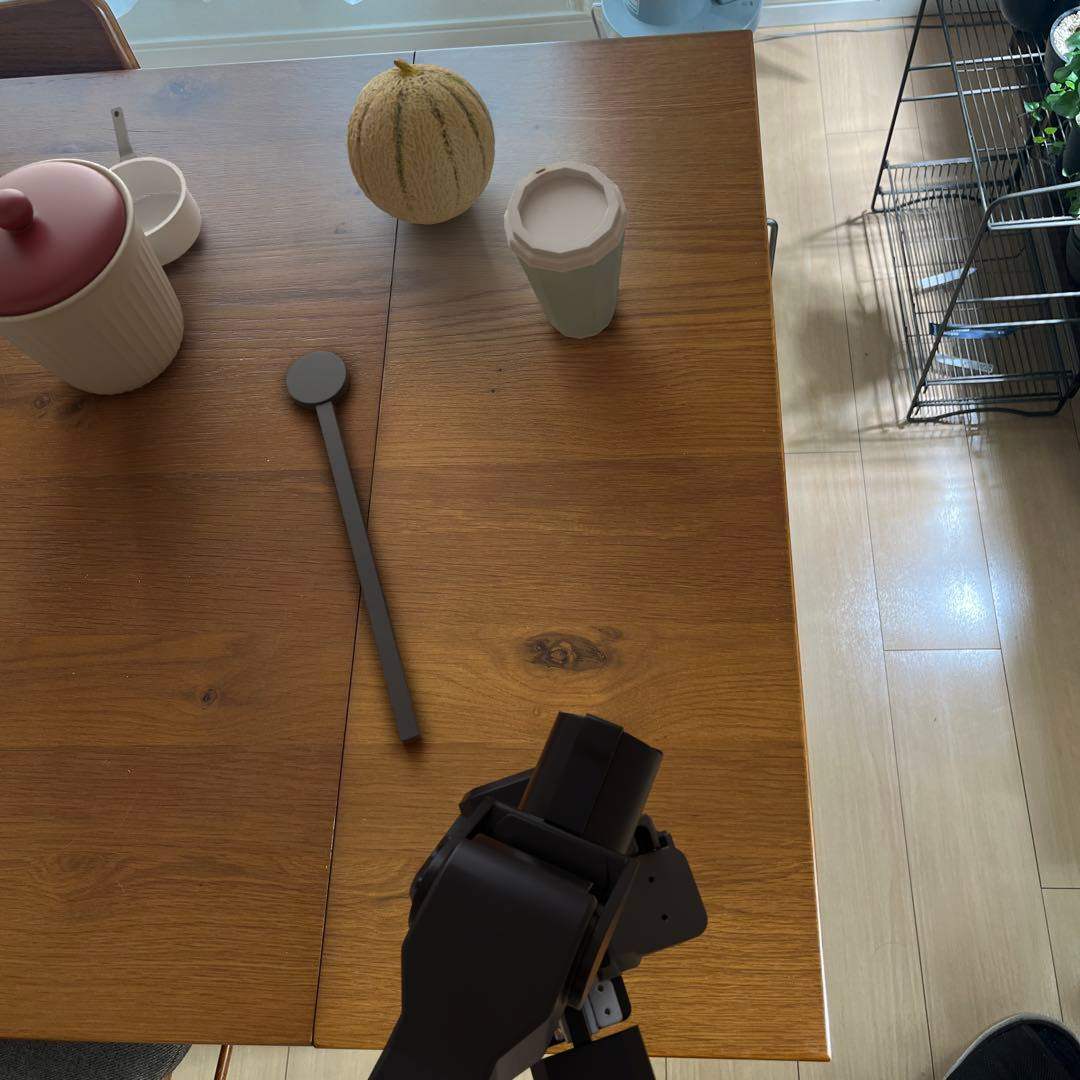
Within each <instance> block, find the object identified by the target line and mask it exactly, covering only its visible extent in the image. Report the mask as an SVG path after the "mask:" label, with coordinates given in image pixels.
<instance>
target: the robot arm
mask: <svg viewBox="0 0 1080 1080" xmlns="http://www.w3.org/2000/svg"><path fill="white" fill-rule="evenodd" d="M663 759H664V752H663V751H662V750H660V749H659V748H656V747H653V746H651V745H649V744H647V743H646V742H645V741H643V740H641V739H639V738H637V737H635V736H633V735H632V734H630V733H628V732H626V731H625V729H624V726H622V725H619V724H617V723H614V722H612V721H610V720H607V719H604V718H601V717H599V716H597V715H594V714H593V713H592V714H591V713H589V712H586V713H585V715H581V714H576V713H573V712H572V713H570V712H564V711H561V710H558V712H557V715H556V717H555V720H554V722H553V724H552V727H551V729H550V731H549V733H548V736H547V738H546V740H545V743H544V746H543V748H542V750H541V753H540V755H539V757H538V759H537V762H536V764H535V766H534V767H532V768H529V769H525V770H523V771H520V772H517V773H515V774H514V773H513V774H511V775H509V776H506V777H502V778H499V779H497V780H494V781H491V782H488V783H485V784H482V785H479V786H476V787H473V788H472V789H470V790H469V791H467V792H466V793H464V795H463V797H462V798H461V800H460V802H459V803H458V808H459V812H460V814H459V815H458V816H457V818H456V819H455V821H454V822H453V823H452V824H451V825H450V827H449V829H448V830H447V831H446V832H445V834H444V835H443V836H442V838H441V840H440V841H439V842H438V844H437V845H436V846H435V848H433V851H432V852H431V853H430V855H428V857H427V859H426V860H425V861H424V863H423V864H422V865H421V867H420V868H419V869H418V871H417V872H416V874H415V876H414V878H413V880H412V882H411V885H410V887H409V891H408V892H409V894H408V895H409V898H410V902H411V905H410V909H409V912H408V919H407V923H408V931H407V933H406V935H405V937H404V938H403V941H402V942H401V943H402V944H401V947H400V988H401V990H400V994H401V995H400V1000H401V1001H400V1003H401V1005H400V1006H401V1007H400V1008H401V1011H400V1015H399V1016H398V1019H397V1021H396V1023H395V1025H394V1027H393V1028H392V1030H391V1033H390V1035H389V1037H388V1039H387V1041H386V1043H385V1045H384V1047H383V1049H382V1051H381V1053H380V1055H379V1057H378V1058H377V1060H376V1063H375V1065H374V1066H373V1068H372V1069H371V1072H370V1074H369V1076H368V1078H367V1080H515V1079H516V1078H517V1077H518V1076H520V1075H521V1074H523V1073H524V1072H525V1071H527V1070H530V1073H531V1077H532V1080H657V1077H656V1074H655V1071H654V1067H653V1064H652V1061H651V1058H650V1055H649V1053H648V1049H647V1046H646V1042H645V1040H644V1037H643V1034H642V1032H641V1029H640V1026H639V1025H640V1024H638V1023H637V1024H634V1025H631V1026H629V1027H627V1028H625V1029H622V1030H619V1031H615V1032H613V1033H611V1034H610V1033H609V1034H608V1035H605V1036H602V1037H598V1038H597V1039H593V1036H595V1035H597V1034H600V1033H601V1030H603V1029H605V1028H609V1027H611V1026H614V1025H617V1024H619V1023H622V1022H625V1021H627V1020H629V1018H630V1017H631V1015H632V1004H631V1000H630V997H629V993H628V990H627V988H626V985H625V982H624V978H623V973H624V972H627V971H630V970H633V969H636V968H638V967H640V965H641V962H642V959H643V958H644V957H647V956H650V955H653V954H656V953H658V952H662V951H664V950H667V949H670V948H674V947H676V946H679V945H681V944H684V943H686V942H689V941H692V940H693V939H696V938H698V937H700V936H702V935H703V934H704V933H705V932H706V929H707V927H708V923H709V921H708V920H709V917H708V913H707V910H706V907H705V904H704V901H703V898H702V896H701V893H700V891H699V888H698V886H697V883H696V879H695V877H694V874H693V871H692V869H691V865H690V863H689V861H688V858H687V856H686V855H685V854H684V853H683V851H681V849H679V848H677V847H676V845H675V841H674V839H673V837H672V833H671V832H668V830H667V829H664V830H658V829H656V826H655V824H654V821H653V819H652V817H651V816H650V815H649V814H647V813H643V811H644V809H645V807H646V805H647V801H648V799H649V796H650V794H651V790H652V789H653V785H654V782H655V780H656V777H657V775H658V772H659V769H660V766H661V765H662V764H661V763H662V762H663ZM559 1029H560V1030H561V1031H560V1030H559ZM562 1043H566V1045H569V1044H571V1043H572V1047H571V1048H567V1049H564V1050H562V1051H559V1052H556V1053H553V1054H551V1055H547V1056H545V1055H546V1053H547V1051H548V1049H550V1048H552V1047H555V1046H557V1045H560V1044H562Z"/></svg>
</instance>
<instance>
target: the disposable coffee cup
mask: <svg viewBox="0 0 1080 1080" xmlns="http://www.w3.org/2000/svg"><path fill="white" fill-rule="evenodd" d="M629 219H630V218H629V215H628V211H627V208H626V204H625V201H624V198H623V195H622V193H621V189H620V186H618V185H617V184H616V183H614V182H613V181H612V180H611V179H610V178H609V177H608V176H606V175H605V174H604V173H603V172H601V171H600V170H599V169H598V168H596V167H595V166H594V165H590V164H586V163H582V162H576V161H572V160H567V159H564V160H560V161H557V162H552V163H550V164H549V163H548V164H545V165H542V166H540V167H538V168H536V169H534V170H532V171H531V172H530V173H528V174H527V175H526V176H525V177H523V178H522V179H521V180H520V181H518V182H517V183H516V184H515V186H514V188H513V191H512V194H511V197H510V199H509V202H508V204H507V207H506V211H505V213H504V215H503V222H504V223H503V227H504V231H505V236H506V241H507V244H508V248H509V250H510V251H511V252H512V253H513V254H515V256H516V257H517V259H518V261H519V263H520V266H521V267H522V269H523V272H524V274H525V276H526V278H527V280H528V282H529V285H530V286H531V288H532V290H533V292H534V295H535V296H536V299H537V301H538V303H539V305H540V307H541V309H542V311H543V313H544V315H545V317H546V319H547V321H548V323H549V325H551V327H553V328H554V329H556V330H557V331H558V332H559V333H560V334H561V335H563V337H568V338H573V339H578V340H582V339H586V338H590V337H594V336H597V335H599V334H600V333H601V332H602V331H603V330H604V329H605V328H607V327H608V326H609V325H610V323H611V322H612V319H613V316H614V313H615V311H616V309H617V305H618V304H617V303H618V294H619V287H620V277H621V270H622V260H623V252H624V242H625V235H626V227H627V224H628V222H629Z"/></svg>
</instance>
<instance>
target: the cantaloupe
mask: <svg viewBox="0 0 1080 1080" xmlns="http://www.w3.org/2000/svg"><path fill="white" fill-rule="evenodd" d="M393 65H394V66H395V67H391V68H389V69H387V70H385V71H382V72H381V73H379V74H377V75H376V76H374V77H373V78H371V80H369V82H368V83H366V85H365V86H364V87H363V88H362V89H361V91H360V93H359V95H358V96H357V99H356V101H355V104H354V106H353V109H352V112H351V114H350V116H349V119H348V124H347V130H346V150H347V157H348V161H349V165H350V169H351V173H352V175H353V177H354V179H355V181H356V183H357V185H358V186H359V188H360V190H361V191H362V192H363V194H364V196H365V197H366V198H367V199H368V200H369V201H370V202H371V203H372V204H373V205H374V206H375V207H376V208H378V209H380V210H381V211H382V212H383V213H386V214H388V215H389V216H391V217H392V218H394V219H397V220H399V221H401V222H405V223H410V224H414V225H418V224H419V225H435V224H441V223H444V222H447V221H449V220H451V219H453V218H456V217H458V216H461V215H462V214H464V213H465V212H466V211H467V210H468V209H470V208H471V207H472V206H473V205H474V204H475V203H476V201H477V200H479V198H480V196H481V195H483V193H484V191H485V189H486V188H487V186H488V185H489V182H490V180H491V176H492V172H493V168H494V162H495V156H496V148H495V147H496V137H495V129H494V125H493V120H492V117H491V114H490V112H489V109H488V108H487V105H486V103H485V102H484V100H483V99H482V96H481V95H480V93H479V92H478V90H476V88H475V87H474V86H473V85H472V84H471V83H470V82H469V81H468V80H467V79H466V78H465V77H463V76H462V75H460V74H458V73H457V72H455V71H453V70H451V69H449V68H445V67H442V66H439V65H436V64H432V63H408V61H406V60H404V59H401V58H396V59H395V58H394V59H393Z"/></svg>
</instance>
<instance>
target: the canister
mask: <svg viewBox="0 0 1080 1080" xmlns="http://www.w3.org/2000/svg"><path fill="white" fill-rule="evenodd" d="M184 331H185V325H184V315H183V312H182V306H181V304H180V301H179V299H178V297H177V294H176V293H175V290H174V288H173V287H172V284H171V282H170V280H169V279H168V276H167V274H166V272H165V271H164V269H163V266H161V264H160V262H159V260H158V259H157V257H156V255H155V253H154V251H153V249H152V247H151V245H150V243H149V242H148V240H147V238H146V236H145V234H144V232H143V230H142V228H141V226H140V224H139V222H138V221H137V219H136V217H135V209H134V203H133V199H132V196H131V194H130V192H129V190H128V188H127V186H126V185H125V184H124V182H123V181H122V180H121V179H120V178H119V177H118V176H117V175H116V174H115V173H113V172H112V171H111V170H109V168H107V167H105V166H103V165H101V164H98V163H95V162H92V161H90V160H89V161H88V160H84V159H78V158H55V159H46V160H40V161H36V162H32V163H29V164H26V165H23V166H20V167H18V168H14V169H12V170H11V171H8V172H6V173H4V174H2V175H0V337H2V338H3V339H4V340H6V341H7V342H9V343H10V344H11V345H12V346H14V347H15V348H17V349H18V350H20V352H22V353H23V354H25V355H26V356H28V358H30V359H31V360H33V361H34V362H36V363H37V364H39V365H40V366H42V367H43V368H44V369H46V370H47V371H49V372H50V373H51V374H53V375H54V376H56V377H57V378H59V379H60V380H61V381H63V382H65V383H67V384H69V386H72V387H74V388H75V389H78V390H82V391H84V392H86V393H91V394H96V395H110V396H111V395H115V394H123V393H125V392H132V391H134V390H136V389H140V388H142V387H143V386H144V385H147V384H149V383H150V382H151V381H154V379H157V378H158V376H160V374H161V373H163V372H165V371H166V368H168V367H169V366H170V365H171V364H172V362H173V359H174V358H176V356H177V353H178V351H179V350H180V348H181V342H182V341H183V339H184Z"/></svg>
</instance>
